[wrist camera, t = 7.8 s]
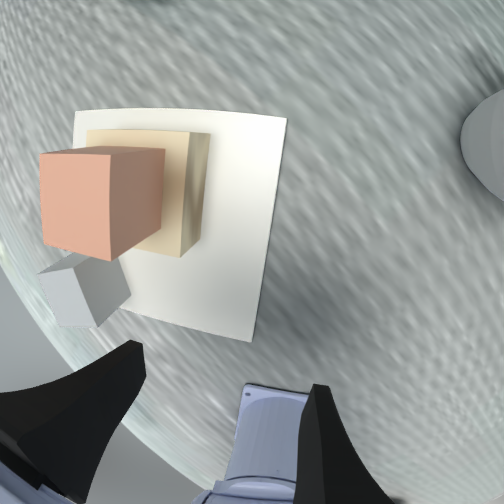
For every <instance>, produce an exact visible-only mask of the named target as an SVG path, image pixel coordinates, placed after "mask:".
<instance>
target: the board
mask: <svg viewBox="0 0 504 504" xmlns="http://www.w3.org/2000/svg"><path fill="white" fill-rule="evenodd" d="M286 125H287V118H280V117H273V116H265V115H257V114H248V113H238V112H227V111H215V110H199V109H175V108H124V109H101V110H86V111H75V122H74V135H73V149H76V148H84V147H86V136H87V130H98V129H142V130H167V131H184V132H198V133H209V134H211V135H210V143H209V151H208V160H207V170H206V179H205V189H204V200H203V211H202V222H201V235H200V240H199V241H198V242H197V243H196V244H194V245H193V246H192V247H191V248H190V249H189V250H188V251H187V252H186V253H185V254H184V255H183V256H182V257H181V258H177V257H172V256H168V255H163V254H158V253H154V252H149V251H144V250H140V249H135V248H131V249H129V250H128V251H126V252H125V253H123V254H122V255H120V256H119V257H118V259H119V262H120V265H121V267H122V270H123V273H124V276H125V279H126V281H127V284H128V287H129V290H130V292H131V296H130V297H129V298H128V299H127V300H126V301H125V302H124V303H123V304H122V305H121V306H120V307H119V308H121V309H125V310H128V311H131V312H134V313H138V314H141V315H144V316H148V317H151V318H155V319H158V320H162V321H165V322H169V323H172V324H176V325H180V326H184V327H187V328H191V329H195V330H199V331H203V332H207V333H211V334H215V335H219V336H224V337H228V338H232V339H237V340H241V341H246V342H252V338H253V333H254V327H255V321H256V315H257V309H258V303H259V297H260V291H261V285H262V279H263V273H264V267H265V261H266V255H267V249H268V242H269V236H270V230H271V224H272V217H273V211H274V204H275V198H276V192H277V185H278V178H279V172H280V165H281V159H282V152H283V145H284V138H285V132H286Z"/></svg>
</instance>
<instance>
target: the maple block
mask: <svg viewBox="0 0 504 504" xmlns="http://www.w3.org/2000/svg"><path fill="white" fill-rule="evenodd" d="M210 135H211V134H209V133H198V132H184V131H167V130H142V129H98V130H87V136H86V147H93V146H127V147H148V148H163V149H165V161H164V175H163V190H162V210H161V229H160V230H158V231H157V232H155V233H153V234H152V235H150V236H149V237H147V238H146V239H144V240H143V241H141V242H140V243H138V244H137V245H135V246H134V247H132V248H135V249H140V250H144V251H149V252H154V253H158V254H163V255H168V256H172V257H177V258H181V257H182V256H183V255H184V254H185V253H186V252H187V251H188V250H189V249H190V248H191V247H192V246H193V245H194V244H196V243H197V242H198V241H199V240H200V235H201V222H202V211H203V200H204V189H205V179H206V170H207V160H208V151H209V143H210Z"/></svg>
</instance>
